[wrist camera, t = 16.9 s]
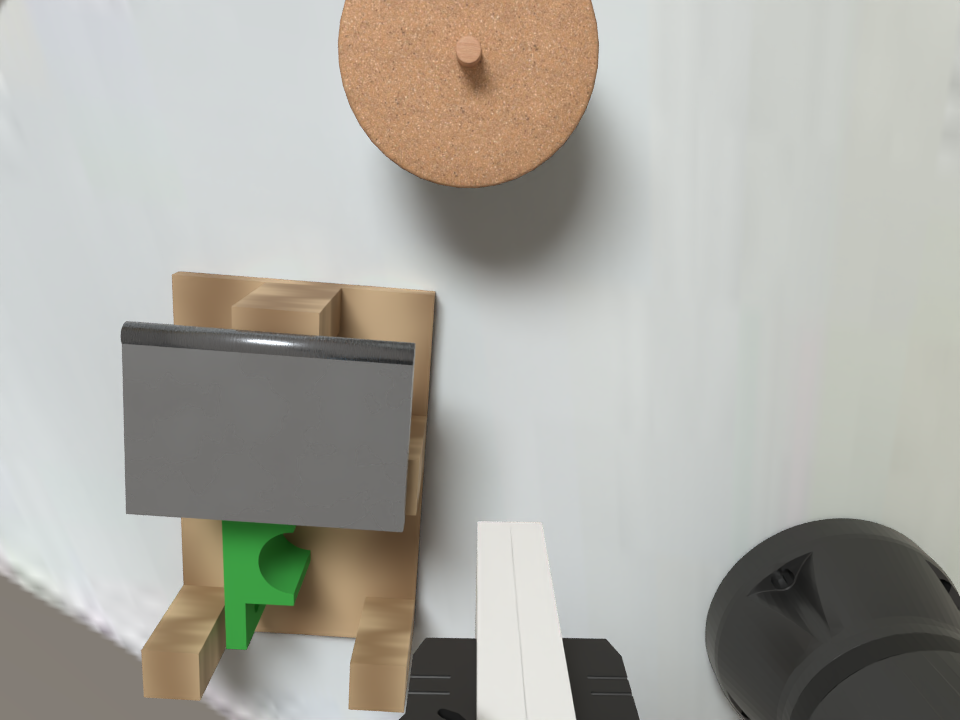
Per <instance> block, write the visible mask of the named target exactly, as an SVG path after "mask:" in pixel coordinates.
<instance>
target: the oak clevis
mask: <svg viewBox="0 0 960 720" xmlns="http://www.w3.org/2000/svg"><path fill="white" fill-rule="evenodd" d="M172 290H173V316H174V325H184V326H197V327H211V328H224V329H237V330H250V331H264V332H277V333H290V334H304V335H317V336H330V337H343V338H357V339H370V340H383V341H397V342H410V343H416V349H415V364H414V380H413V396H412V412H411V428H410V444H409V460H408V476H407V492H406V508H405V523H404V529H403V532H390V531H375V530H361V529H346V528H331V527H316V526H301V525H297V526H296V528H295V530H294V532H293V533H284V534H283V535H284V536H285V538H286V539H287V540H288V541H289V542H290V543H292V544H293V545H295V546H297V547H299V548H302V549H305V550H311V561H310V564H309V567H308V569H307V572H306V575H305V577H304V580H303V582H302V585H301V588H300V590H299V593H298V596H297V598H296V601H295V604H294V606H287V605H267V604H266V607H265V609H264V611H263V613H262V616H261V618H260V620H259V623H258V625H257V627H256V629H255V631H256V632H272V633H289V634H305V635H321V636H337V637H353V638H356V640H355V645H354V649H353V653H352V658H351V662H350V682H349V709H351V710H368V711H385V712H402V713H404V705H405V697H406V689H407V680H408V672H409V664H410V655H411V647H412V638H413V629H414V614H415V598H416V583H417V568H418V552H419V537H420V521H421V506H422V490H423V475H424V459H425V444H426V429H427V413H428V398H429V382H430V367H431V351H432V336H433V321H434V305H435V291H424V290H411V289H398V288H385V287H373V286H360V285H347V284H334V283H321V282H308V281H295V280H282V279H269V278H257V277H244V276H231V275H218V274H205V273H192V272H177V273H175V274H172ZM181 527H182V554H183V580H184V585H183V587H182V588H181V590H180V591H179V593H178V594H177V596H176V597H175V599H174V601H173V602H172V604H171V605H170V607H169V608H168V610H167V611H166V613H165V614H164V616H163V618H162V619H161V621H160V622H159V624H158V625H157V627H156V628H155V630H154V632H153V633H152V635H151V636H150V638H149V639H148V641H147V642H146V644H145V645H144V647H143V649H142V650H141V653H142V669H143V688H144V697H148V698H165V699H182V700H199V701H200V700H201V698H202V696H203V694H204V692H205V690H206V688H207V685H208V683H209V681H210V679H211V677H212V675H213V673H214V671H215V669H216V667H217V665H218V663H219V661H220V659H221V657H222V654H223V652H224V650H225V648H226V627H225V598H224V569H223V541H222V520H211V519H196V518H181Z"/></svg>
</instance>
